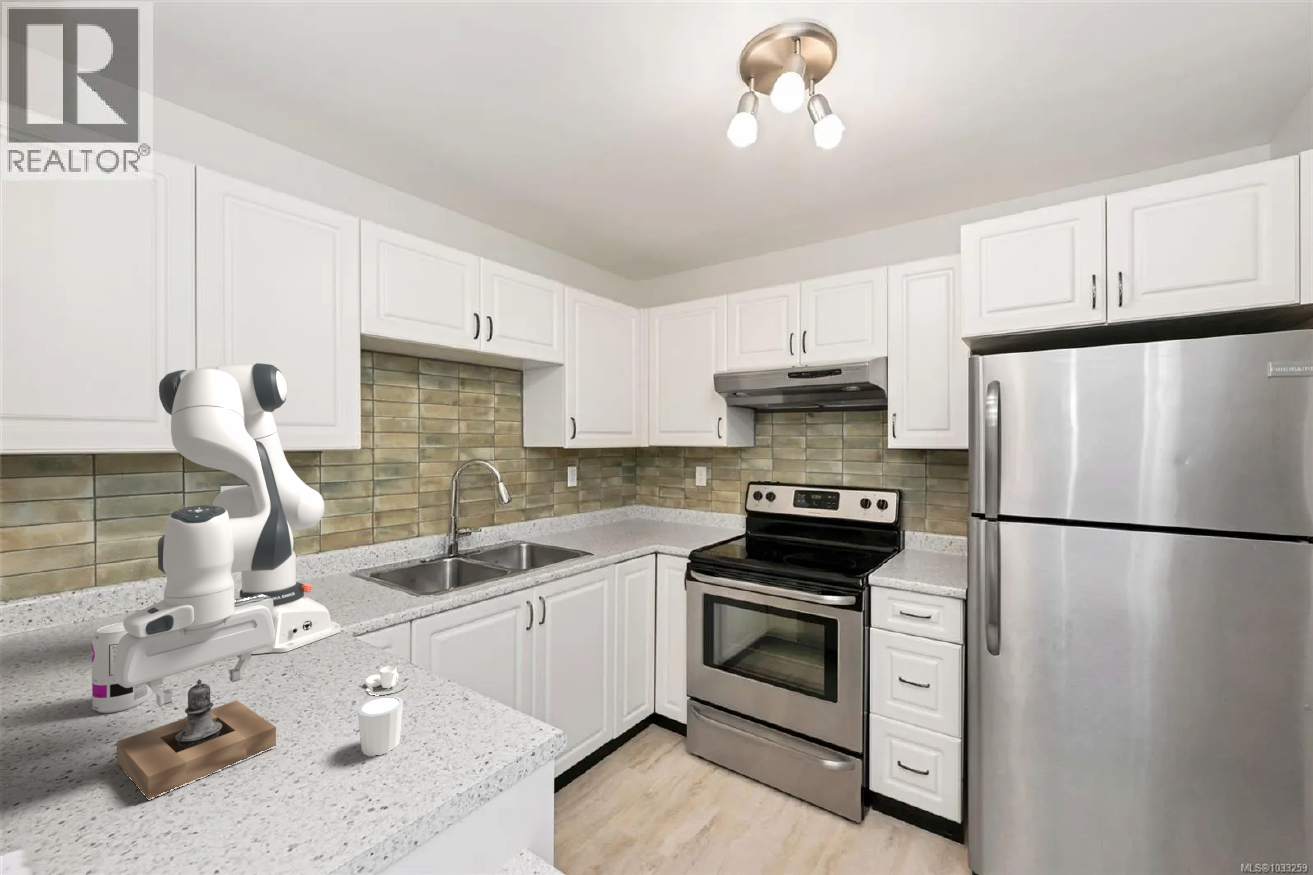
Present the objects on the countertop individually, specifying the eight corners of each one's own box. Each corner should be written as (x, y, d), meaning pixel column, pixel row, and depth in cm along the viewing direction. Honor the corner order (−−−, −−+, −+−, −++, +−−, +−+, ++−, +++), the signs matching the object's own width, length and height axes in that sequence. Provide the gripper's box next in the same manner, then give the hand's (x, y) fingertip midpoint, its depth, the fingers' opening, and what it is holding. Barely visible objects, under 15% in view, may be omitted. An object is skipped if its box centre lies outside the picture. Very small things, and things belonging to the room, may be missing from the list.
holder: (237, 719, 100) (237, 700, 100) (276, 747, 91) (275, 726, 91) (116, 763, 87) (116, 741, 87) (148, 801, 78) (148, 777, 78)
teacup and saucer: (359, 687, 114) (359, 667, 114) (399, 675, 119) (399, 656, 119) (373, 702, 108) (373, 681, 108) (415, 689, 113) (415, 669, 113)
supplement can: (80, 717, 101) (80, 636, 101) (111, 696, 109) (111, 621, 109) (134, 711, 103) (134, 632, 103) (161, 691, 111) (160, 617, 111)
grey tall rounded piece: (195, 765, 86) (195, 689, 86) (165, 761, 87) (165, 685, 87) (231, 744, 92) (231, 673, 92) (202, 740, 93) (202, 670, 93)
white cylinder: (391, 730, 97) (391, 691, 97) (410, 745, 92) (410, 703, 92) (350, 748, 91) (350, 706, 91) (368, 764, 87) (368, 720, 87)
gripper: (265, 588, 100) (266, 663, 100) (109, 622, 82) (111, 712, 83) (281, 594, 96) (282, 672, 96) (121, 630, 79) (123, 725, 79)
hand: (202, 691), depth 89 cm, fingers open, 8 cm apart
